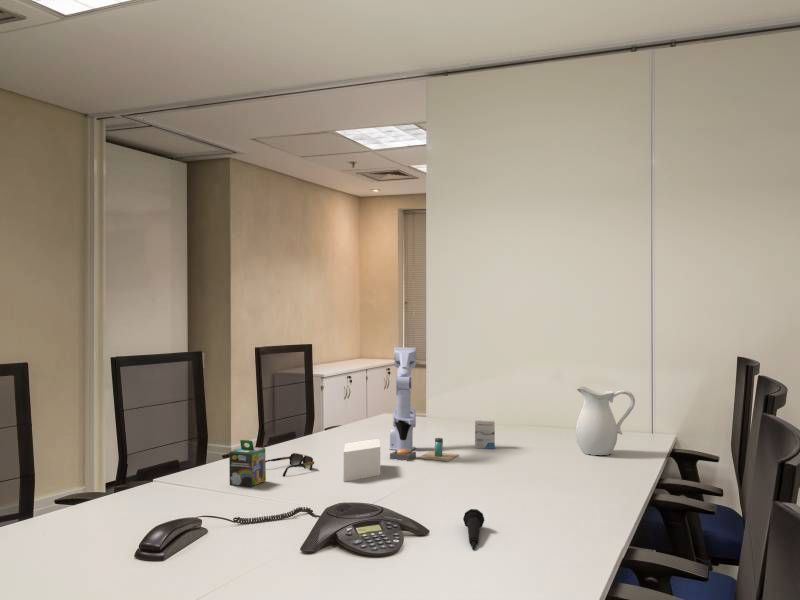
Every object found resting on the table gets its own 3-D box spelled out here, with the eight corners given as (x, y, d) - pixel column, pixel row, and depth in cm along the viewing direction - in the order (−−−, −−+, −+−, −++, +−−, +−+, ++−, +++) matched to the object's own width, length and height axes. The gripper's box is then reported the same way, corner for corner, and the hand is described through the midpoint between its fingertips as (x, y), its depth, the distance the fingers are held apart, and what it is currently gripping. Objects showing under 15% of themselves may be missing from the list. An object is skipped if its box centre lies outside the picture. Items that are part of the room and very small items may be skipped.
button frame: (389, 459, 271) (389, 453, 271) (398, 455, 278) (398, 450, 278) (408, 460, 267) (408, 455, 268) (415, 457, 275) (415, 451, 275)
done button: (394, 455, 272) (394, 450, 272) (399, 453, 276) (399, 448, 276) (406, 456, 269) (406, 451, 270) (411, 454, 274) (411, 449, 274)
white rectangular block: (396, 467, 257) (396, 440, 257) (362, 484, 230) (362, 454, 231) (362, 463, 263) (362, 437, 263) (325, 479, 236) (325, 450, 236)
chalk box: (266, 481, 233) (266, 438, 233) (252, 487, 224) (252, 442, 224) (243, 479, 236) (243, 436, 236) (228, 485, 227) (228, 441, 227)
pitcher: (573, 455, 281) (573, 388, 282) (578, 448, 297) (578, 385, 298) (633, 460, 272) (633, 391, 273) (635, 453, 288) (635, 387, 289)
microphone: (480, 563, 166) (480, 527, 186) (488, 542, 165) (486, 508, 185) (459, 555, 167) (461, 521, 186) (466, 534, 166) (467, 502, 186)
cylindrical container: (433, 455, 275) (433, 438, 275) (436, 454, 278) (436, 437, 278) (440, 456, 274) (441, 439, 274) (443, 455, 277) (443, 438, 277)
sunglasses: (260, 471, 249) (260, 457, 249) (293, 464, 260) (293, 451, 260) (283, 477, 240) (283, 463, 240) (316, 470, 251) (316, 457, 251)
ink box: (494, 446, 299) (494, 419, 299) (494, 448, 294) (494, 421, 294) (474, 446, 300) (475, 419, 300) (475, 448, 295) (475, 421, 295)
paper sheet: (417, 458, 273) (417, 457, 273) (429, 452, 285) (429, 451, 285) (448, 461, 267) (448, 460, 267) (458, 455, 279) (458, 454, 279)
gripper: (421, 407, 269) (420, 442, 268) (403, 403, 282) (403, 436, 281) (405, 408, 265) (405, 443, 265) (388, 404, 278) (388, 437, 278)
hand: (403, 439), depth 273 cm, fingers closed
